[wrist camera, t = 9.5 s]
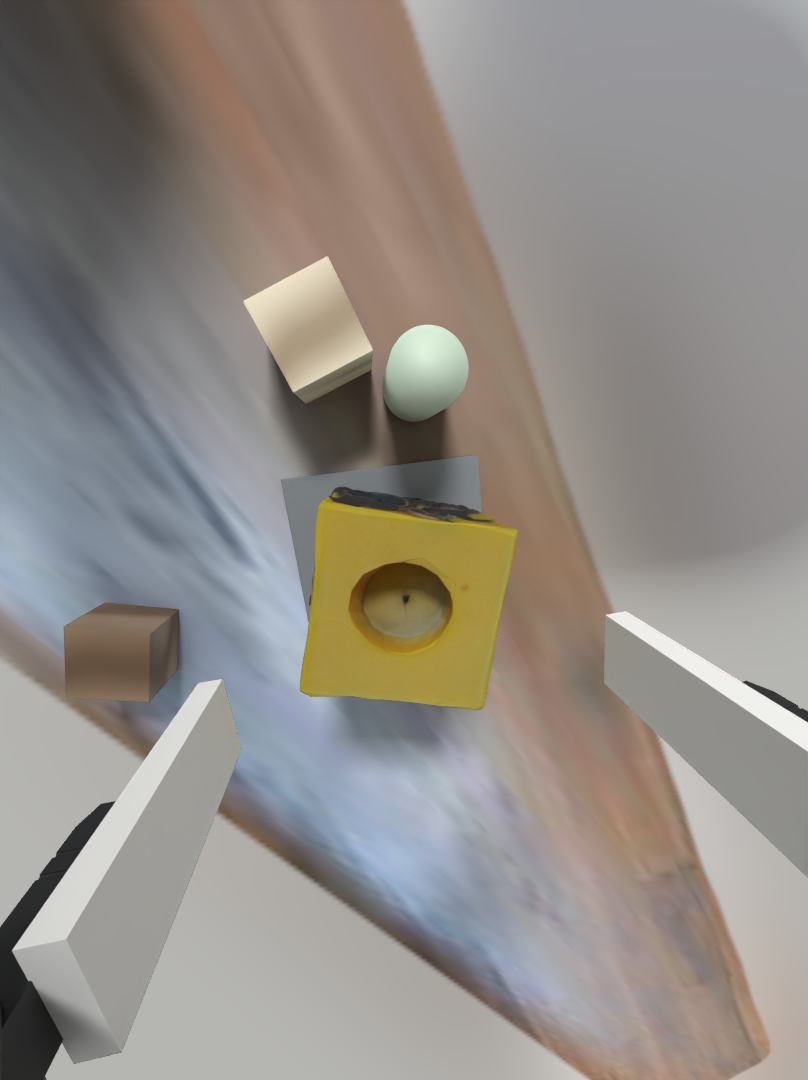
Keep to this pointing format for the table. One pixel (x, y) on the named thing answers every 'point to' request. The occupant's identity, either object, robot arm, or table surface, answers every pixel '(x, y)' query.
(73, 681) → the walnut block
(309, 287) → the maple block
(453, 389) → the sage capsule
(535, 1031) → the table surface
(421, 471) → the coaster
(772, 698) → the robot arm
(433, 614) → the candle
